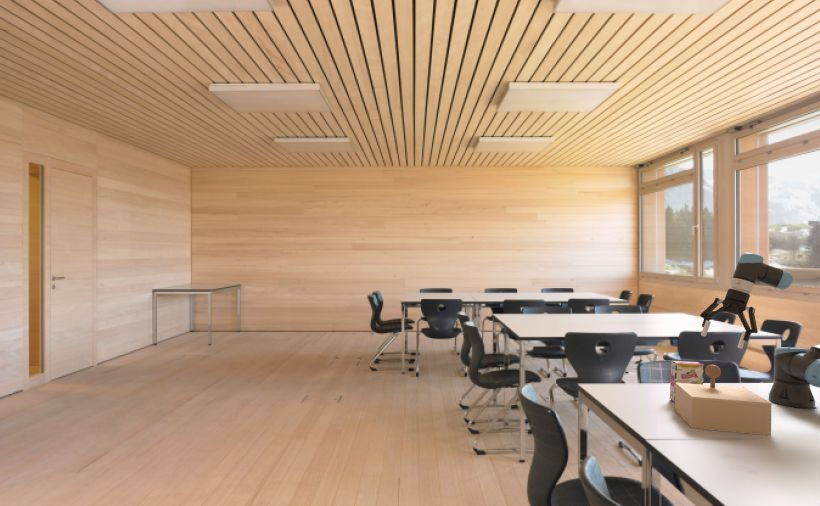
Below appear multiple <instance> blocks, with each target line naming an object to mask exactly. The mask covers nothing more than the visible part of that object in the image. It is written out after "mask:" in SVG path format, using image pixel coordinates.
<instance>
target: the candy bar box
mask: <svg viewBox="0 0 820 506" xmlns="http://www.w3.org/2000/svg"><path fill="white" fill-rule="evenodd" d="M704 369H705V365H704V364H703V363H700V362H699V361H683V360H682V361H681V360H670V382H669V383H670V384H669V385H670V386H669V400H670V399H671V400H670V401H671V402H673V401H674V402H673V403H675V383H689V384H702V385H704V371H705V370H704Z"/></svg>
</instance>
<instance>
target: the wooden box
mask: <svg viewBox="0 0 820 506" xmlns="http://www.w3.org/2000/svg"><path fill="white" fill-rule="evenodd" d="M674 412H676V413H677V415H679V416H680V418H681V419H682V420H683V419H684V420H685V421H686V422H687V423H686V422H685V421H684V420H683V421H684V422H685V423H686V424H687V425H688V424H689V425H688V426H689V427H690V428H691V429H698V428H699V429H700V430H708V429H709V430H708V431H710V430H711V431H719V430H720V431H721V432H729V431H730V433H739V432H740V433H741V434H752V435H760V436H761V435H762V436H772V406H771V405H759V404H747V403H735V402H723V401H711V400H699V399H691V398H690V397H689V396H688V395H687V394H686V393H684V392H683V391H682V390H681V389H680V388H679V387H677V386H676V385H675V402H674ZM740 433H739V434H740Z"/></svg>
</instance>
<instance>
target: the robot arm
mask: <svg viewBox="0 0 820 506" xmlns="http://www.w3.org/2000/svg"><path fill="white" fill-rule="evenodd" d="M736 264H737V265H736V267H735V270H734V272H733V275H732V278H731V281H730V283H729V286H728V287H729V288H728V289H727V291H726V294H725V297H724V299H721V298H719V297H715V298H714V300H713V302H712V303H711V304H710V305H709V306H707V308H705V309H704V311H702V312H701V313H700V314H699V315H700V317H701V318H702V319H703V321H702V323H701V327H702V331H701V333H700V336H702V337H704V338H705V337H707V334H708V332H709V330H710V329H709V328H710V325H711V324H712V322H711V321H712V320H713V319H714V318H716V317H718V316H720V315H721V314H723V313H727V314H733V315H735V316H738V318H739V320H740V321H741V324H742V326H743V328H744V331H742V333H741V336H740V338H739V341H738V345H737V348H738V349H741V350H743V348H744V345H745V343H746V342H749V340H750V336H751V335H752V334H757V333H759V331H758V326H757V321H756V315H755V312H756V308H755V307H754V306H747V305H748V303H749V300H750V297H751V295H750V294H752V293H753V289H754V286H762V287H772V288H774V289H776V290H780V291H782V290H783V291H784V290H786V289H788V288H790V287H793V286H794V287H815V288H816V287H818V288H820V268H819V267H817V268H812V267H810V268H809V267H808V268H807V267H775V266H772V265H769V264H766V263H764V257H763V256H761V255H760V254H757V253H752V252H743V253H741V255H740V257H739V259H738V261H737V263H736ZM721 304H722V306H720V307H719V308H718V306H719V305H721ZM716 308H718V309H716ZM715 309H716V310H715ZM745 311H747V313H748V314H747V315H748V318H749V322H748V321H747V319H746V317H745V314H744V312H745ZM749 324H750V325H749ZM773 357H774V360H773V365H774V367H773V369H774V370H773V377H774V378H773V383H772V386H771V388H770V390H769V393H768V401H769V402H771V403H772V402H773V403H775V404H777V405H782V406H787V407H792V408H797V409H798V408H799V409H814V408H815V407H816V400H815V398H814V395H813V391H812V390H811V386H812V387H815V388H820V342H819V343H818V344H817V345H811V346H810V348H804V347H790V346H789V347H782V346H781V347H780V346H779V347H776V348H775V349H774V353H773Z"/></svg>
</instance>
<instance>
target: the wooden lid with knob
mask: <svg viewBox="0 0 820 506" xmlns="http://www.w3.org/2000/svg"><path fill="white" fill-rule="evenodd" d="M704 369H705V370H704V371H705V374H706V375H707V377H709V378H710V380H709V382H710V383H709V384H703V385H702V384H689V383H675V385H676V386H677V387H679V388H680V389H681V390H682V391H683V392H684V393H686V394H687V395H688V396H689V397H690V398H691V399H699V400H711V401H723V402H735V403H747V404H759V405H771V407H772V404H773V403H772V402H771V401H770V400H767V399H765V398H764V397H762V396H761V395H759V394H757V393H755V392H753V391H752V390H750V389H749V388H747V387H739V386H727V385H726V386H725V385H716V379H717V378H719V377H720V376H721V374H722V371H721V368H720V367H719V366H718V365H716V364H708V365H707V366H706V367H705V368H704Z"/></svg>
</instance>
